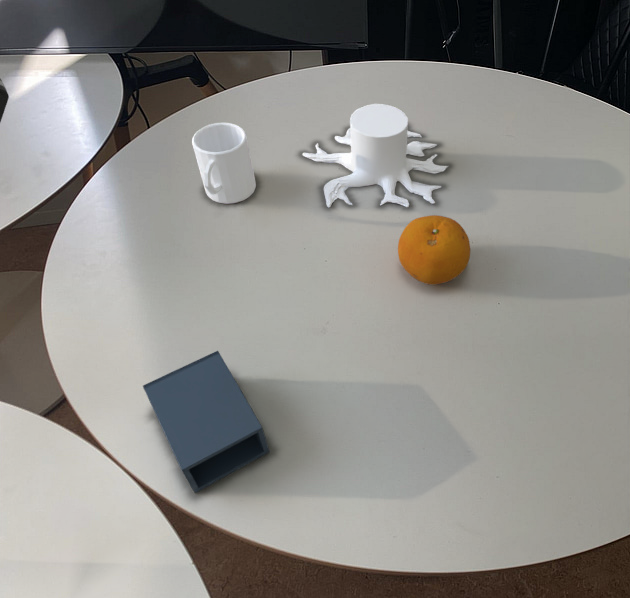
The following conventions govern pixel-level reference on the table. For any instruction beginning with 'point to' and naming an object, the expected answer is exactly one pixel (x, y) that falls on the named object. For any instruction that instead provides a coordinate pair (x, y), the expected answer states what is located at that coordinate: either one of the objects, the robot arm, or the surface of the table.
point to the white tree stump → (378, 155)
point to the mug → (224, 162)
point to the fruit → (434, 249)
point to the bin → (206, 420)
